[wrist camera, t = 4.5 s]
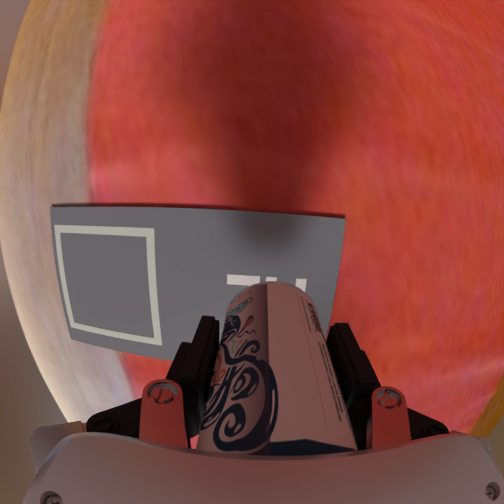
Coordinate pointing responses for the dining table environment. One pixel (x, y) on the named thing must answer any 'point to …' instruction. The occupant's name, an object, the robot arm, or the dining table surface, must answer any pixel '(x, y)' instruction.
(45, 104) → the dining table surface
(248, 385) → the beer can
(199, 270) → the slate board
